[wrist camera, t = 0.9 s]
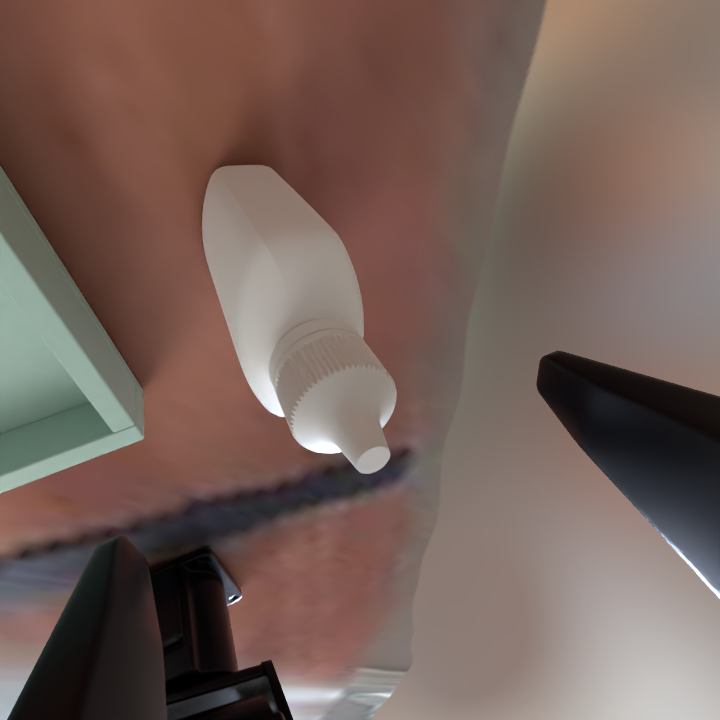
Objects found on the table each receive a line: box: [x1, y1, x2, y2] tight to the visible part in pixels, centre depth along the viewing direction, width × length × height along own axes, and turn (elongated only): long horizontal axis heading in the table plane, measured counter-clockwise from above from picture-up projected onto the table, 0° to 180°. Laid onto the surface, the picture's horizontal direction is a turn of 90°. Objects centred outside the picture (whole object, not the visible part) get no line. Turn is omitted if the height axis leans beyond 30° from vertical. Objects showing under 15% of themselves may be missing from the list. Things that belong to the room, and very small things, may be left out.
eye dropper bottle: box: [202, 165, 397, 474], centre depth 13 cm, size 4×6×12 cm
